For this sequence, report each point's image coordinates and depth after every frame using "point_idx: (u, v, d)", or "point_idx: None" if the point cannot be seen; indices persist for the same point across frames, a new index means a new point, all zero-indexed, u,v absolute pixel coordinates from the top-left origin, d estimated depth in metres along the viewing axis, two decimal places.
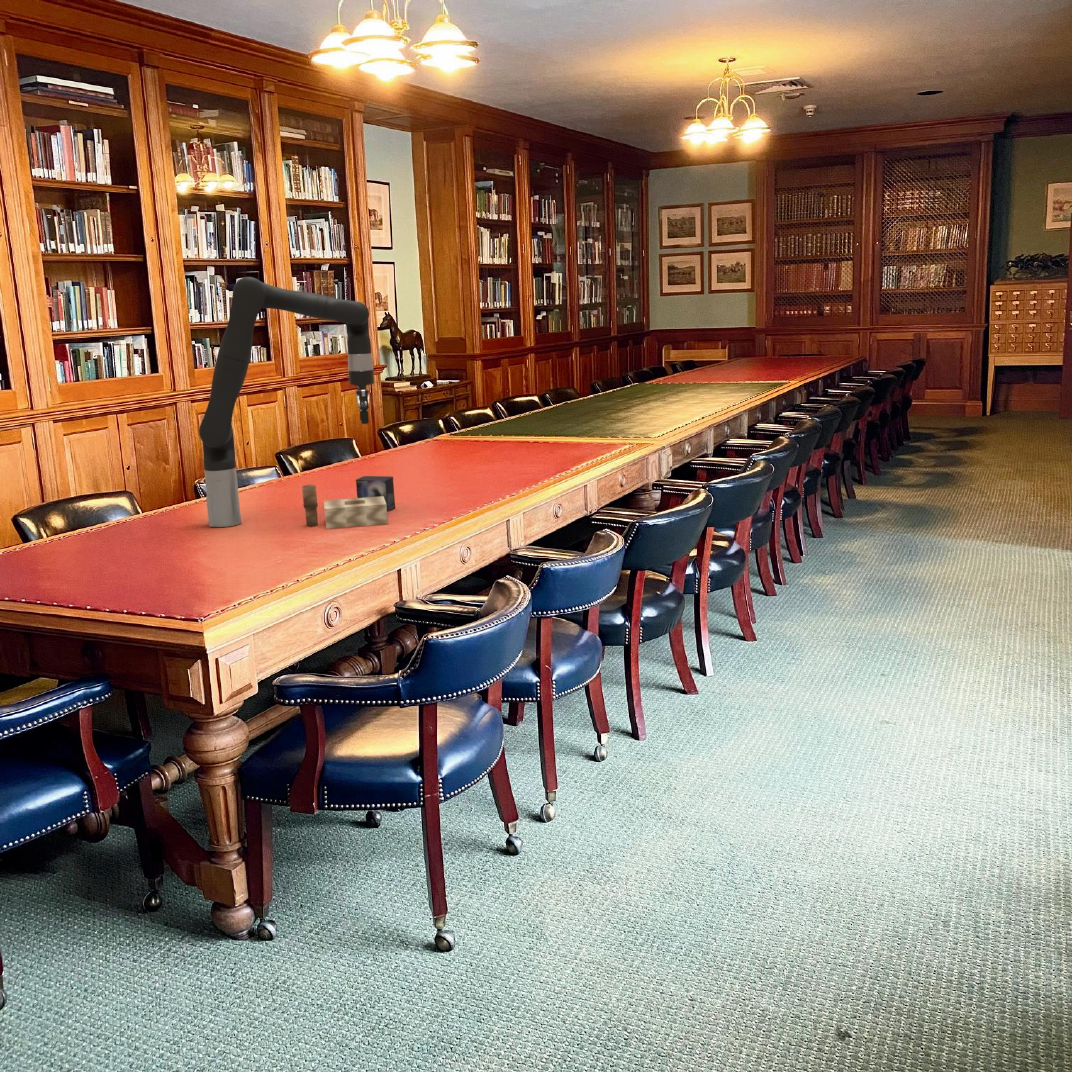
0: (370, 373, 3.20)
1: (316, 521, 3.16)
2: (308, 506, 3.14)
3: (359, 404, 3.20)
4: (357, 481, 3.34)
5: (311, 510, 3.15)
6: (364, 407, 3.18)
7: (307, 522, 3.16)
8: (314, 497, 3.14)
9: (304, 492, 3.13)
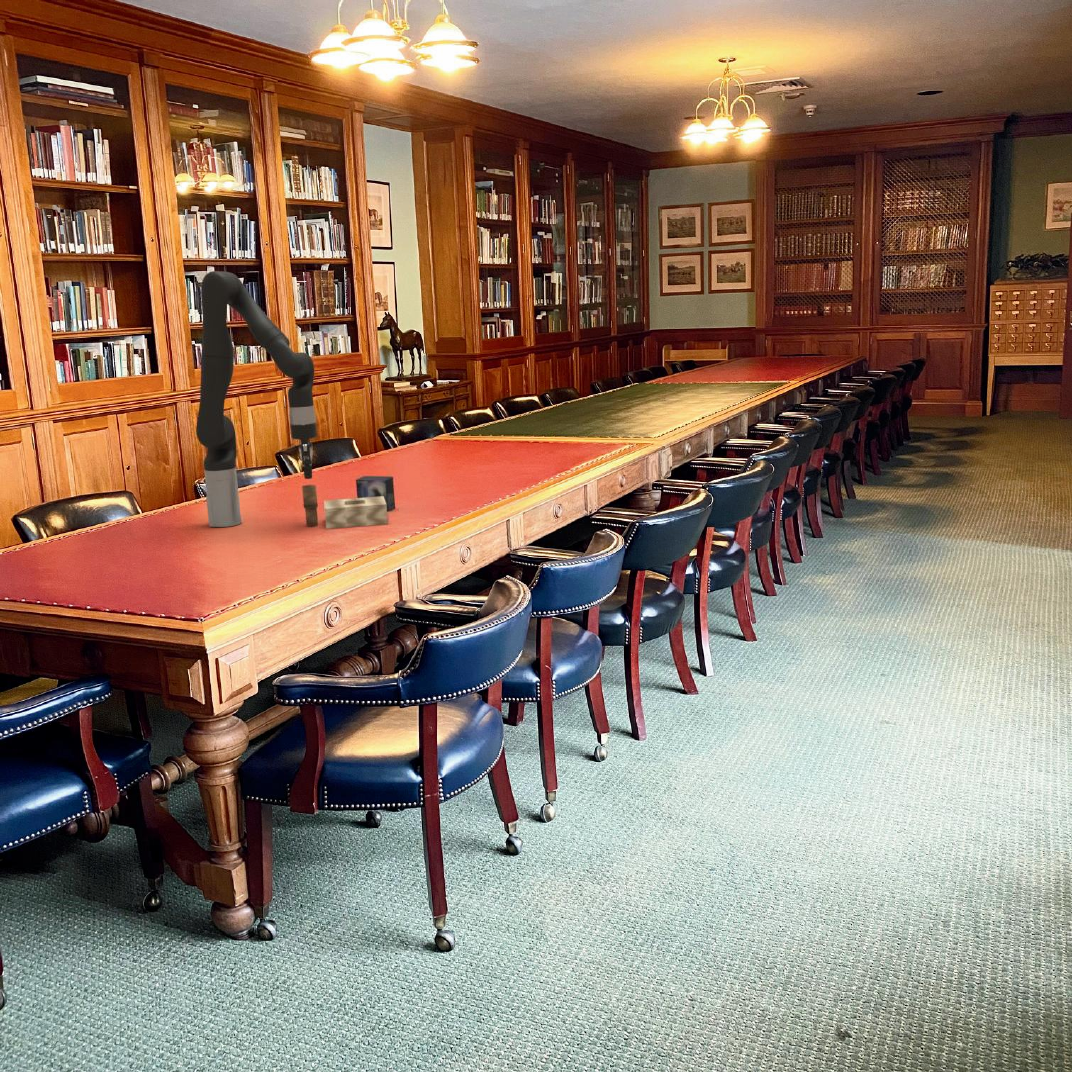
0: (312, 426, 3.09)
1: (316, 521, 3.16)
2: (308, 506, 3.14)
3: (302, 459, 3.09)
4: (357, 481, 3.34)
5: (311, 510, 3.15)
6: (306, 462, 3.06)
7: (307, 522, 3.16)
8: (314, 497, 3.14)
9: (304, 492, 3.13)
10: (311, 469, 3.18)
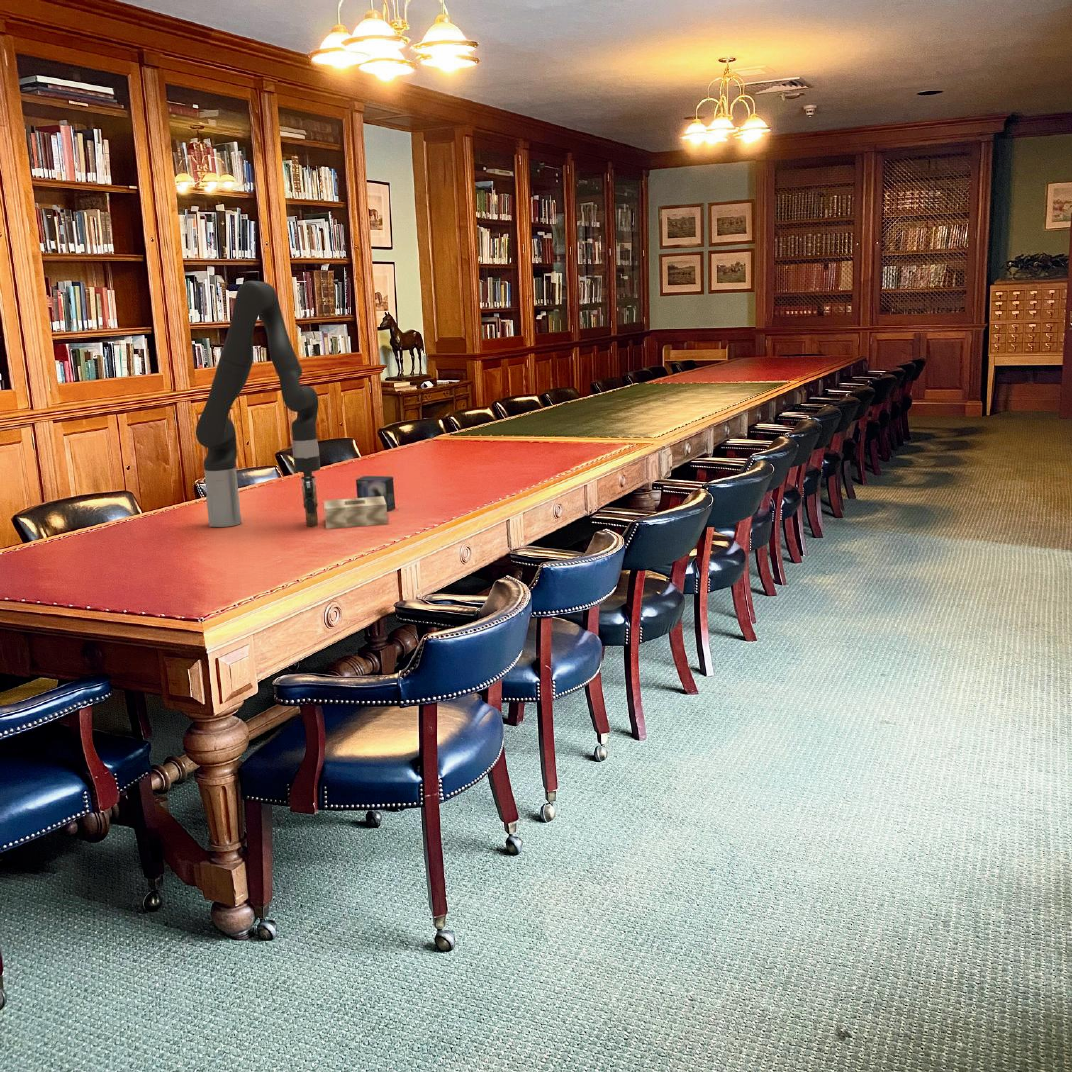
0: (315, 459, 3.11)
1: (316, 521, 3.16)
2: None
3: None
4: (357, 481, 3.34)
5: None
6: (309, 497, 3.10)
7: (307, 522, 3.16)
8: (314, 497, 3.14)
9: None
10: None
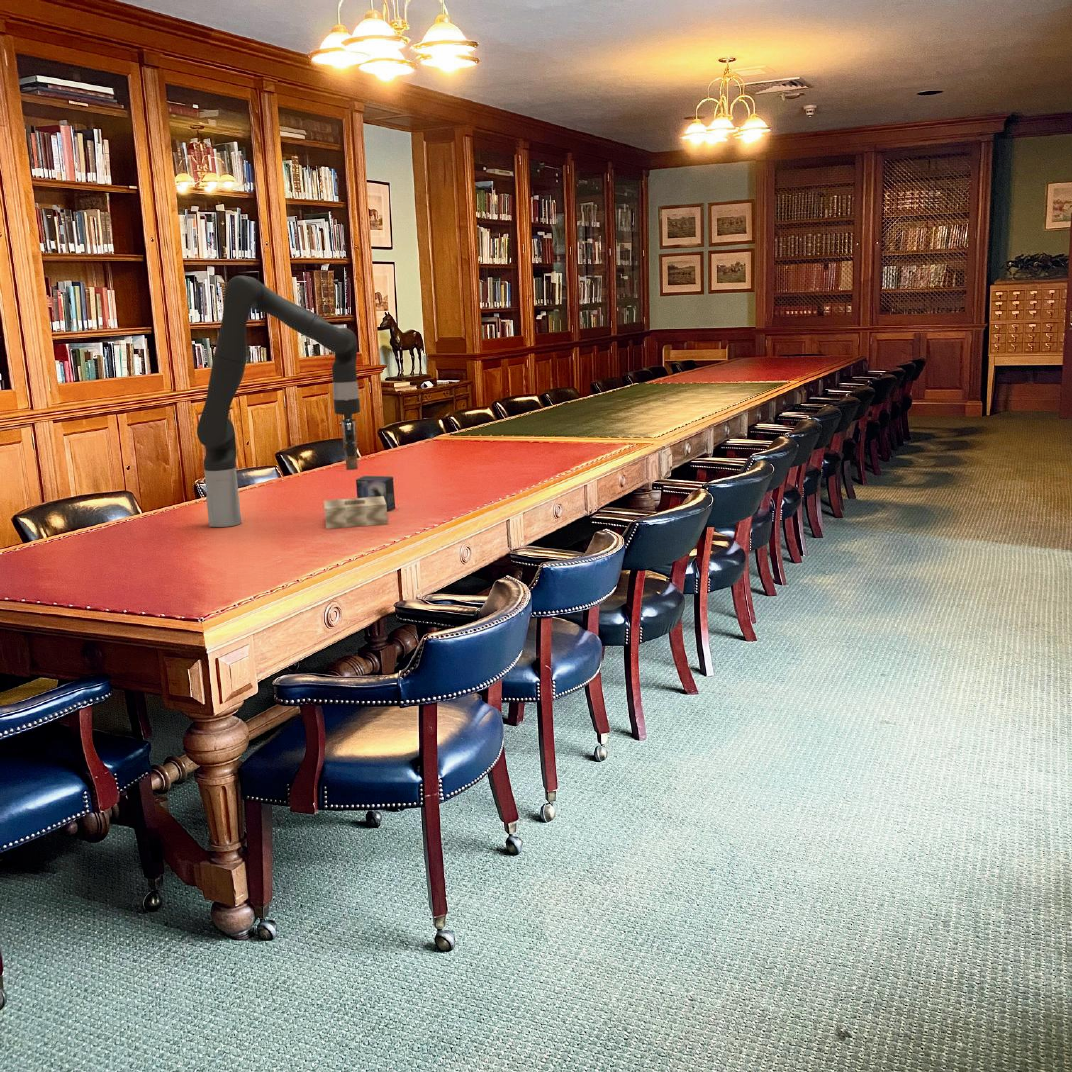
0: (356, 402, 3.10)
1: (356, 464, 3.15)
2: None
3: (345, 436, 3.11)
4: (357, 481, 3.34)
5: None
6: (350, 439, 3.09)
7: (347, 465, 3.15)
8: None
9: None
10: None
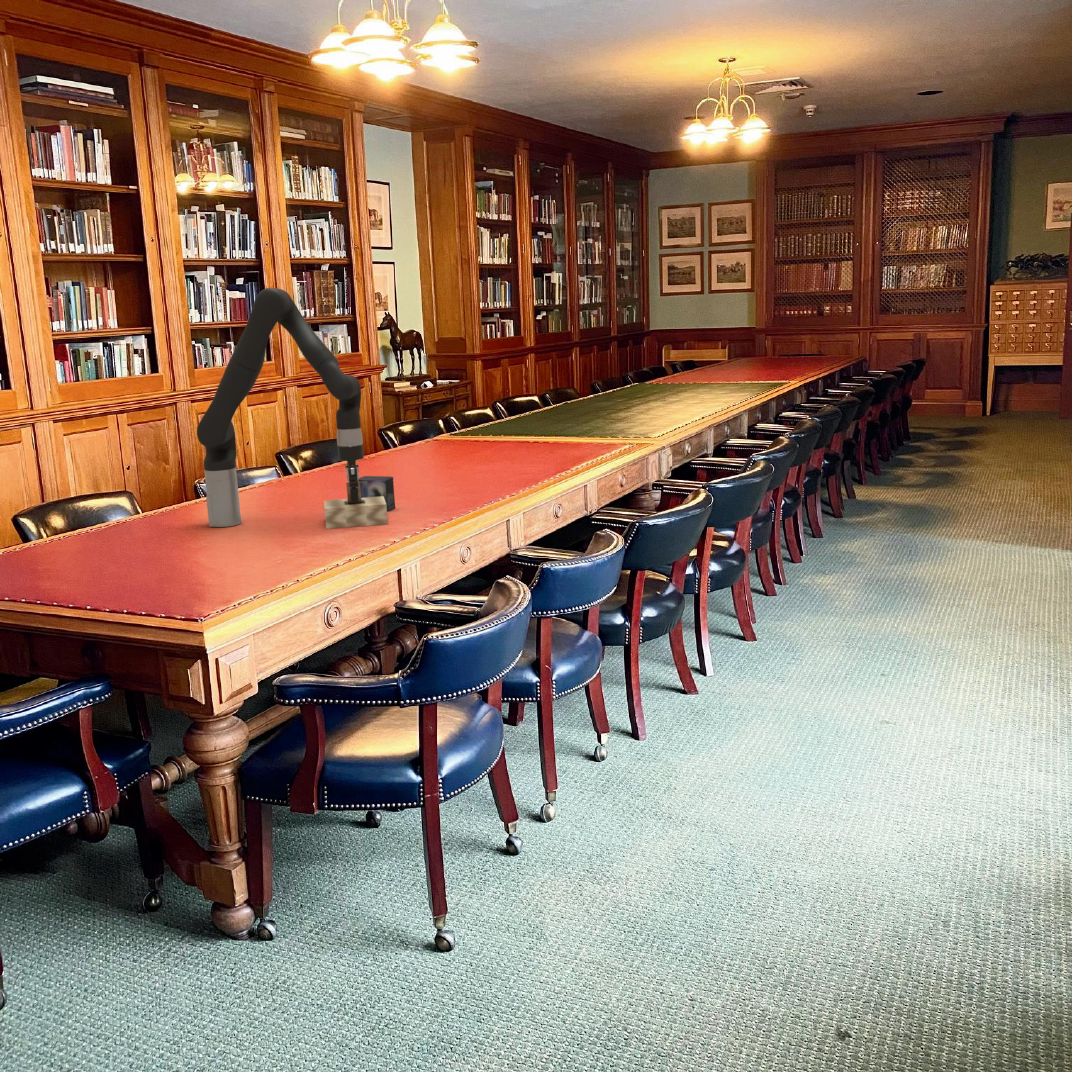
0: (359, 448, 3.13)
1: None
2: (352, 502, 3.16)
3: (348, 481, 3.13)
4: None
5: None
6: (353, 485, 3.11)
7: None
8: (358, 493, 3.17)
9: (348, 488, 3.16)
10: None
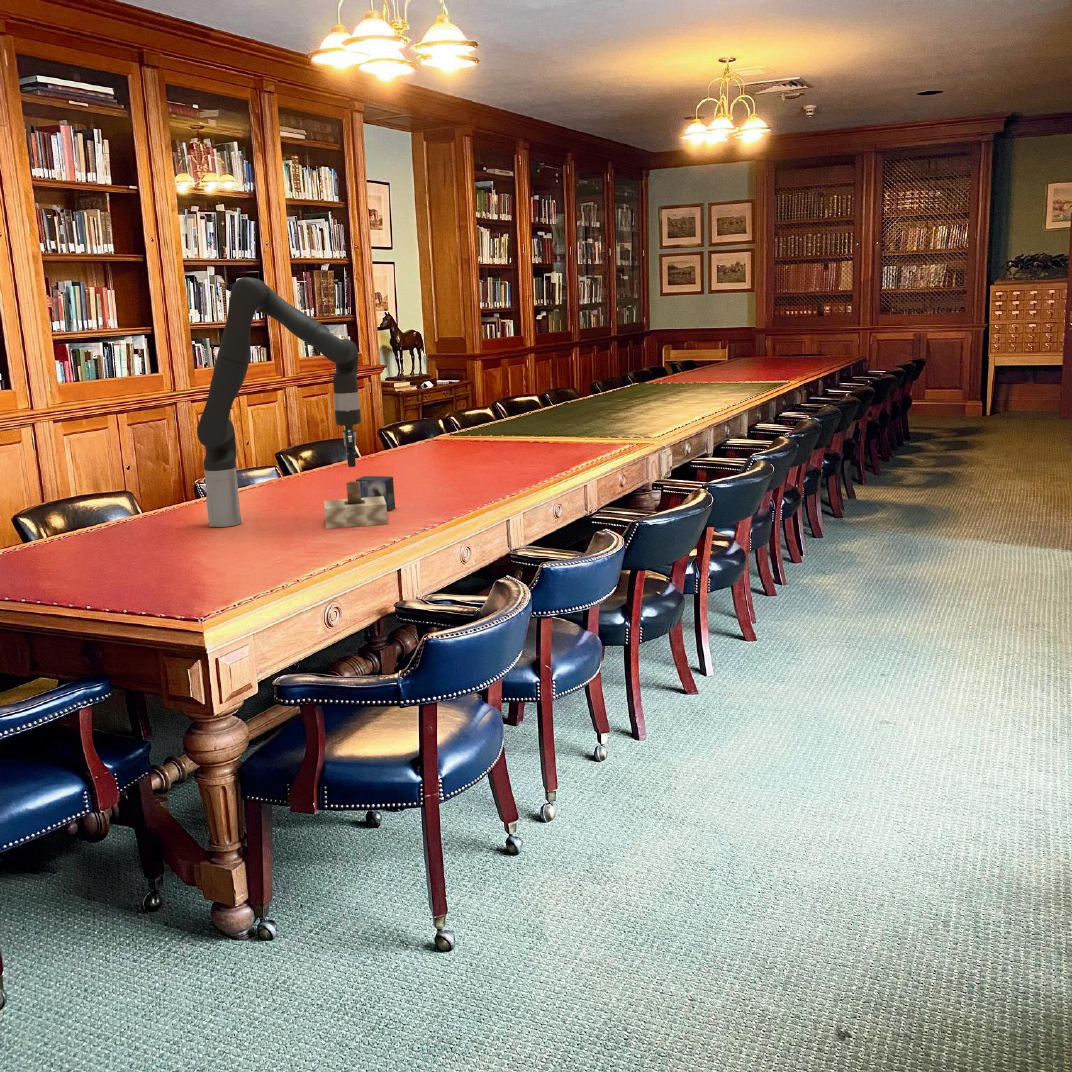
0: (357, 412, 3.10)
1: None
2: (352, 503, 3.16)
3: (346, 446, 3.13)
4: (357, 481, 3.34)
5: None
6: (351, 450, 3.11)
7: None
8: (358, 494, 3.17)
9: (348, 489, 3.16)
10: None
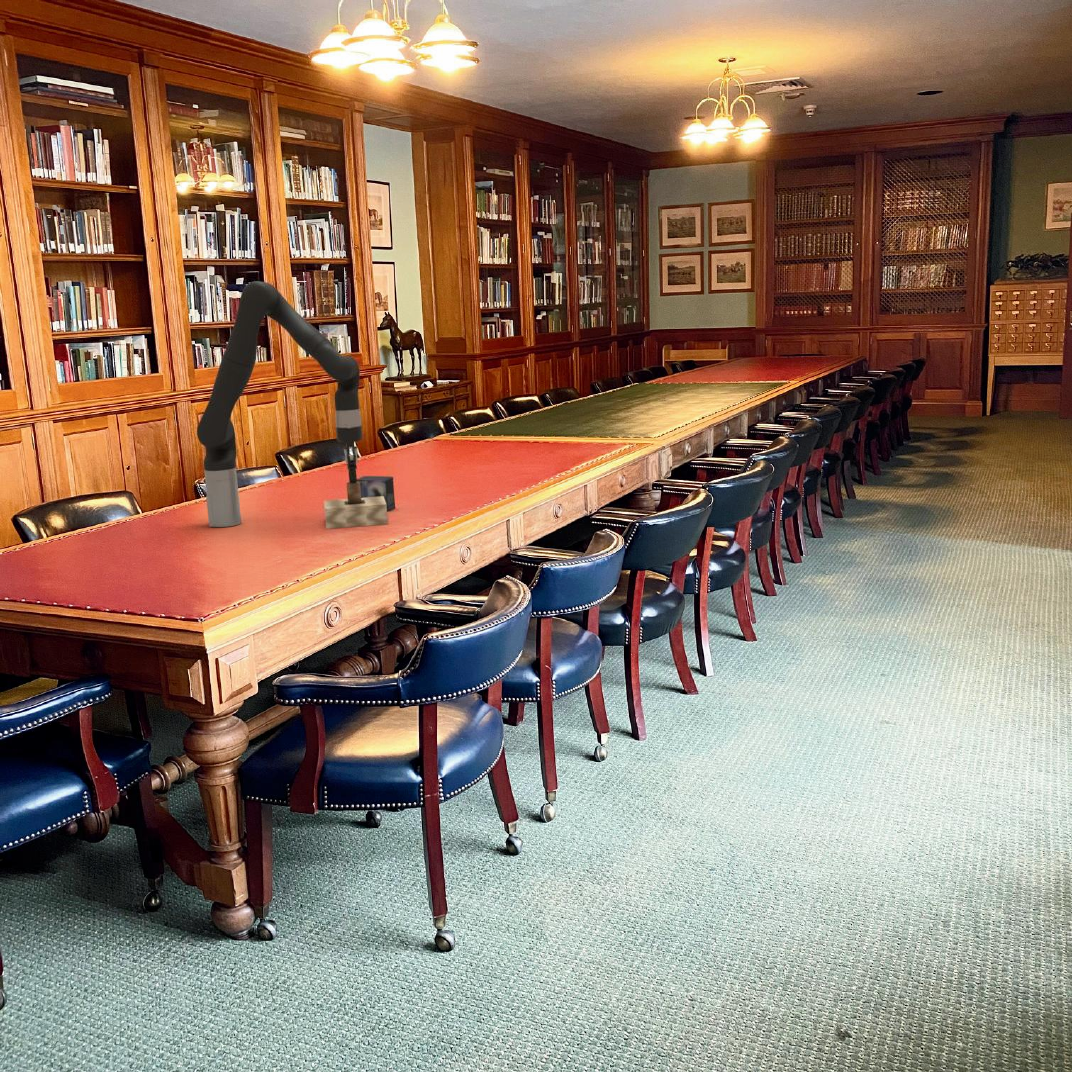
0: (358, 429, 3.11)
1: None
2: (352, 503, 3.16)
3: (347, 463, 3.14)
4: (357, 481, 3.34)
5: None
6: (352, 467, 3.13)
7: None
8: (358, 494, 3.17)
9: (349, 489, 3.16)
10: None
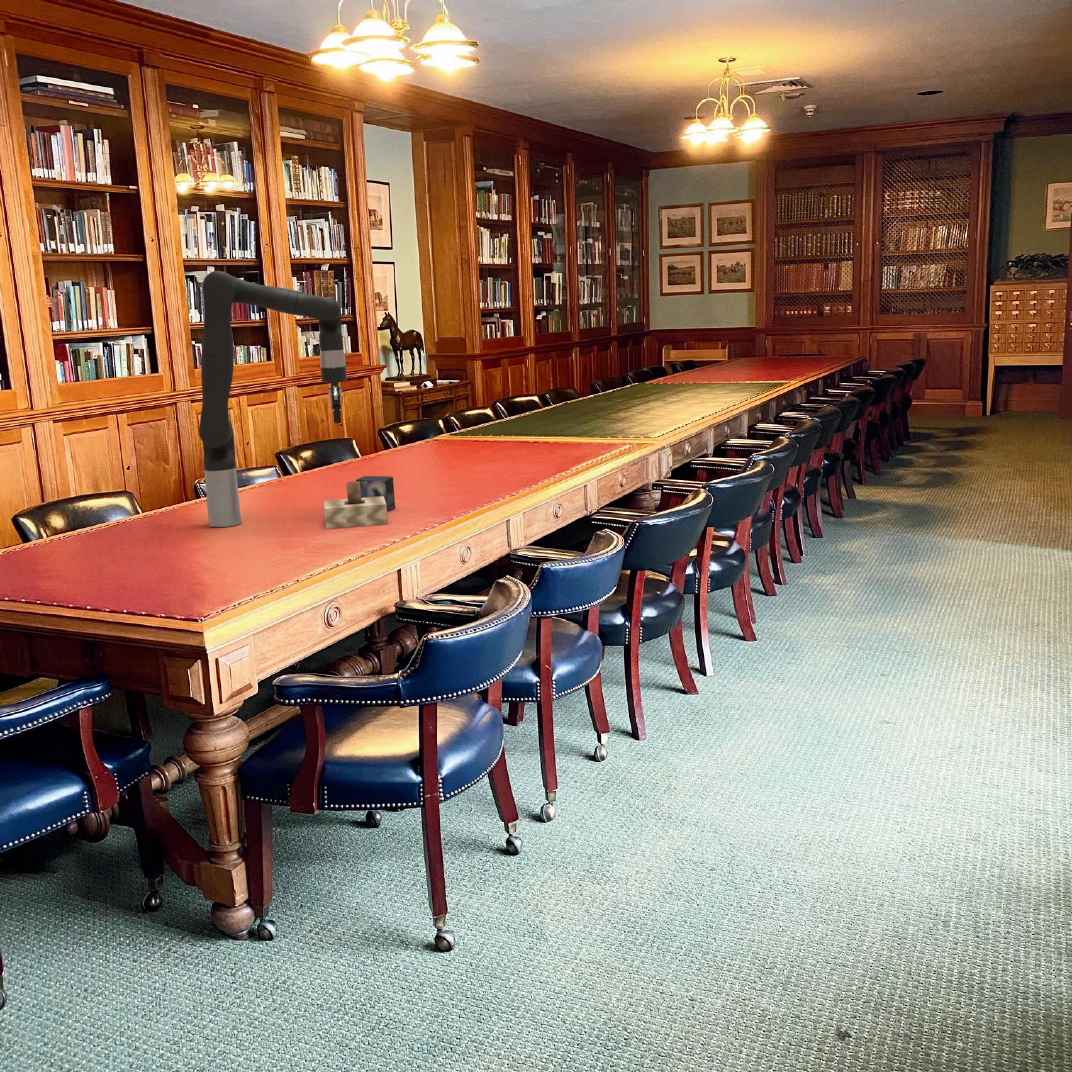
0: (342, 370, 3.17)
1: None
2: (352, 503, 3.16)
3: (331, 403, 3.20)
4: (357, 481, 3.34)
5: None
6: (336, 407, 3.18)
7: None
8: (358, 494, 3.17)
9: (348, 489, 3.16)
10: (340, 418, 3.22)
